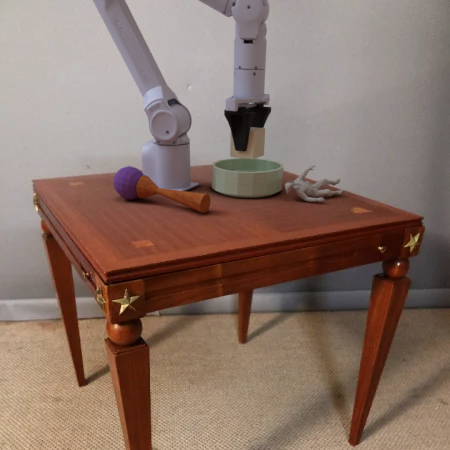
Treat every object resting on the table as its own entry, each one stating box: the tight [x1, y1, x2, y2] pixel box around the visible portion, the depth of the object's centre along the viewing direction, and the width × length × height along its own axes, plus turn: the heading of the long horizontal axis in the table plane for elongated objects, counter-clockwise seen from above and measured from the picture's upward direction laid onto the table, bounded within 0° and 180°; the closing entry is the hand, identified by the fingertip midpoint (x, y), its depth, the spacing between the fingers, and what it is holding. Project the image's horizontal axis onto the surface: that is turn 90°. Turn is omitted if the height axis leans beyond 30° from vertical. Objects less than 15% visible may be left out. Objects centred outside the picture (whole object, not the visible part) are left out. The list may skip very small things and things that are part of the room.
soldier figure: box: [284, 165, 344, 203], centre depth 96 cm, size 8×5×12 cm
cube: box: [229, 127, 266, 159], centre depth 96 cm, size 5×5×5 cm
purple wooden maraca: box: [113, 165, 212, 214], centre depth 90 cm, size 6×6×20 cm
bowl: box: [211, 157, 284, 199], centre depth 100 cm, size 14×14×5 cm
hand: (247, 148), depth 96 cm, fingers closed on cube, 5 cm apart
